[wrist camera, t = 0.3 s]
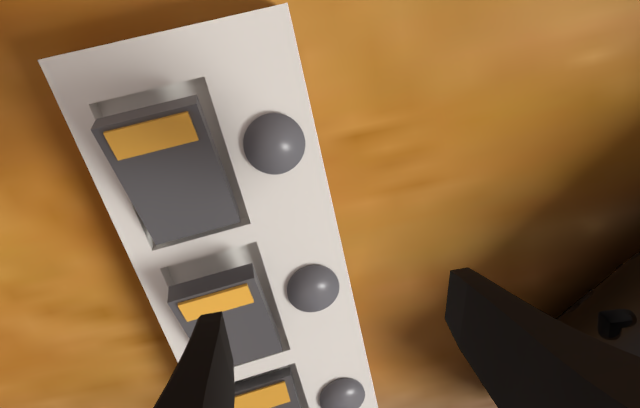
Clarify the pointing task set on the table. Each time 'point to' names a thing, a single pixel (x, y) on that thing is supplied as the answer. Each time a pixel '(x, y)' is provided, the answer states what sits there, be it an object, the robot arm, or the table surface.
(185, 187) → the rocker
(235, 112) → the switch strip
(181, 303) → the middle rocker
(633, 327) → the black foam roller
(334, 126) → the table surface
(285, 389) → the rocker
